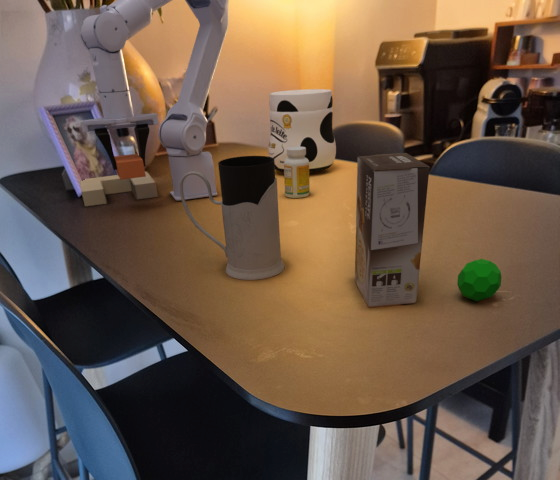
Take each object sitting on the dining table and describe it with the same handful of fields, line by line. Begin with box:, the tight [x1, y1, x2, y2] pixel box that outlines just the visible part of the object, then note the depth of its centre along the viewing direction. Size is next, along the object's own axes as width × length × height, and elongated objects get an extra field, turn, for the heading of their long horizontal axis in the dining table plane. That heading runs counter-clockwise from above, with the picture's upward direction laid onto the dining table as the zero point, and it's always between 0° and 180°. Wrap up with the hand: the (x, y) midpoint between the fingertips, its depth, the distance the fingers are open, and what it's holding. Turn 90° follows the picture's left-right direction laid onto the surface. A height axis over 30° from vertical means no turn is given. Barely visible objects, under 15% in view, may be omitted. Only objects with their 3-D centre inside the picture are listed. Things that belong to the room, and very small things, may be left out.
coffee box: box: [354, 152, 431, 308], centre depth 63 cm, size 9×6×16 cm
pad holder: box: [79, 171, 158, 208], centre depth 120 cm, size 16×14×3 cm
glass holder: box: [180, 155, 285, 281], centre depth 72 cm, size 9×14×15 cm, turn 80°
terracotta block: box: [114, 153, 146, 180], centre depth 104 cm, size 5×8×3 cm, turn 21°
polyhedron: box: [456, 258, 502, 302], centre depth 62 cm, size 5×5×5 cm
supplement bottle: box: [283, 146, 310, 199], centre depth 109 cm, size 5×5×10 cm
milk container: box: [267, 88, 337, 174], centre depth 129 cm, size 17×17×18 cm
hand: (129, 167), depth 104 cm, fingers closed on terracotta block, 5 cm apart
